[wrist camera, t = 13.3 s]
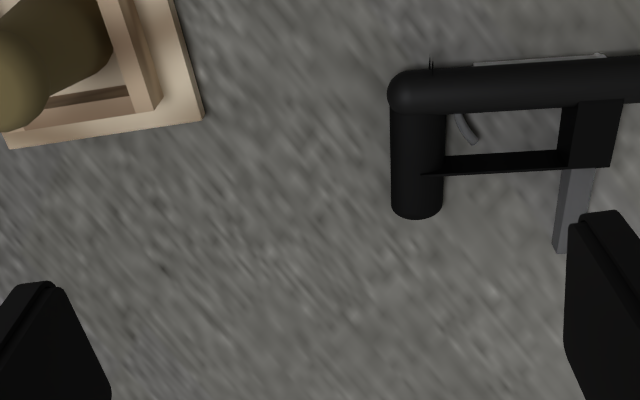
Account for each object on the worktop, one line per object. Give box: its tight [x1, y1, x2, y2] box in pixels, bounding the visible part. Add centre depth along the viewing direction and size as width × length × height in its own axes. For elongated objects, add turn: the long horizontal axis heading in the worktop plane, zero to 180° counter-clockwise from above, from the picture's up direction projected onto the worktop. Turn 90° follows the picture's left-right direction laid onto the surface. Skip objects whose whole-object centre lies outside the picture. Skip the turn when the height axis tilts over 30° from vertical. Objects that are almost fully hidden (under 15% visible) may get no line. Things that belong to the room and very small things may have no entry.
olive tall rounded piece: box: [0, 0, 113, 133], centre depth 33 cm, size 6×6×11 cm
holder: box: [0, 0, 205, 149], centre depth 38 cm, size 14×14×4 cm
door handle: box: [387, 52, 640, 254], centre depth 42 cm, size 3×20×16 cm
